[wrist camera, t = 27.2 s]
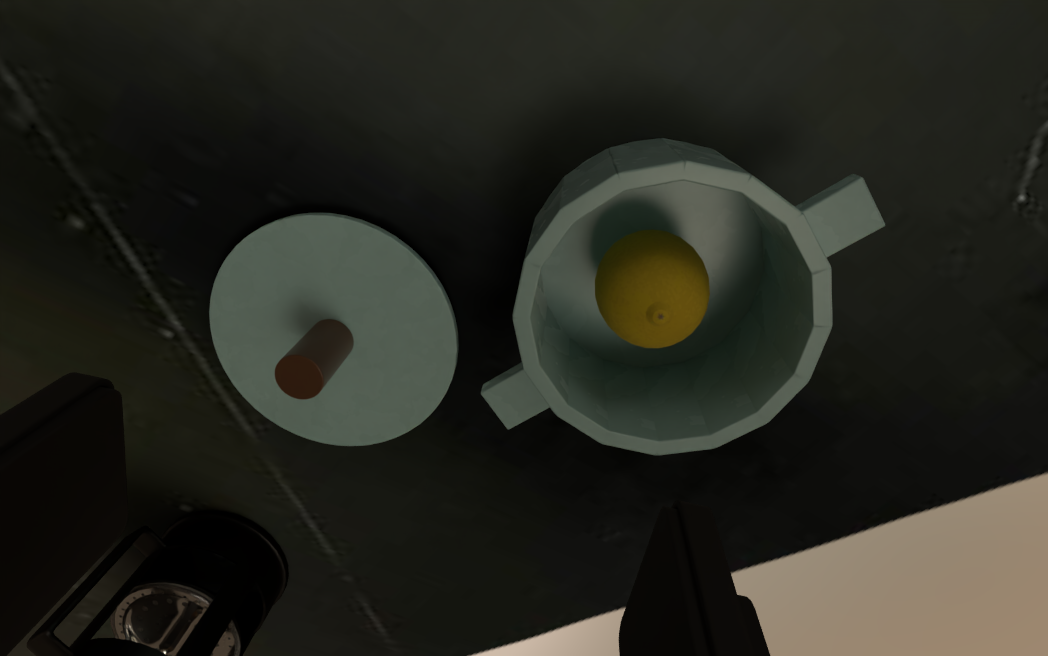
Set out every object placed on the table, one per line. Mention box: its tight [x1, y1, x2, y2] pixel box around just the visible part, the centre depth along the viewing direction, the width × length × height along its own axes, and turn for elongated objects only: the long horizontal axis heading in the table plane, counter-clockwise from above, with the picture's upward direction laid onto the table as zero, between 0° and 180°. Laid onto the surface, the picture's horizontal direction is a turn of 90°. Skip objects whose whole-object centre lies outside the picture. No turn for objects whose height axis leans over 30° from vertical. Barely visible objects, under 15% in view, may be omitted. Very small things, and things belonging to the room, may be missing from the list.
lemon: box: [595, 229, 710, 348], centre depth 32 cm, size 6×6×8 cm
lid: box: [209, 213, 458, 446], centre depth 36 cm, size 15×15×6 cm
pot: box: [481, 138, 885, 455], centre depth 32 cm, size 14×19×8 cm
